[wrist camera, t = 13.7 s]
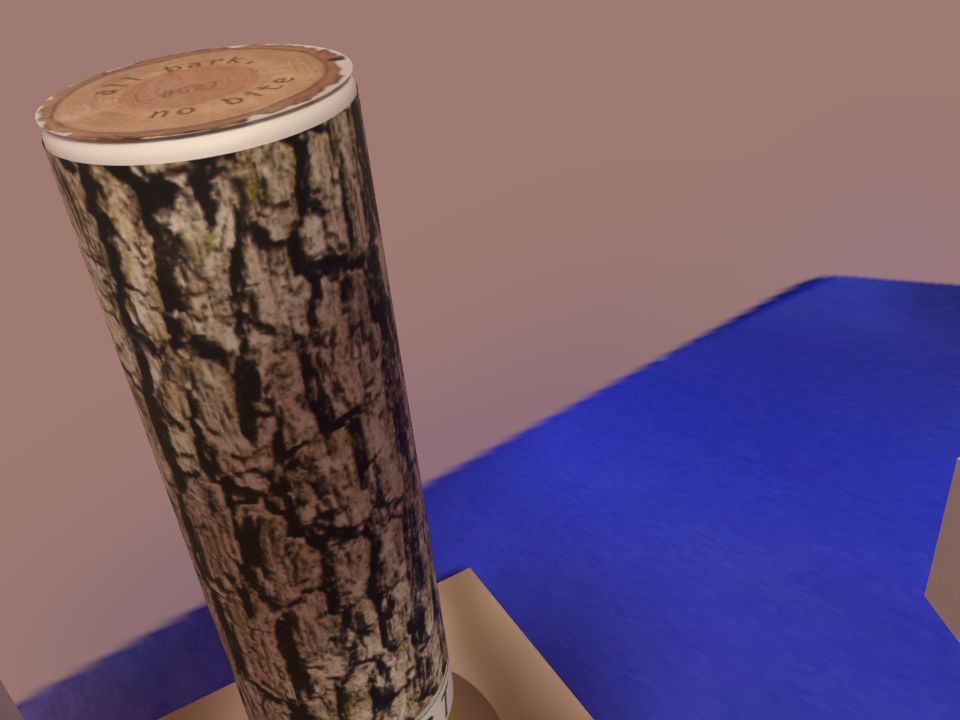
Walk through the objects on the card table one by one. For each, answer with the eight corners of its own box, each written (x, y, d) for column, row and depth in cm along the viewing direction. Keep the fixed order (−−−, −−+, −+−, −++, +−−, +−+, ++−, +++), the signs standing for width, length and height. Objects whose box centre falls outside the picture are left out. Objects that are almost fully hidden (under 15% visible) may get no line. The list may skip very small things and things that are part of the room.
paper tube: (260, 736, 35) (29, 81, 22) (424, 666, 37) (307, 29, 24) (307, 900, 30) (40, 167, 16) (496, 808, 32) (397, 90, 18)
